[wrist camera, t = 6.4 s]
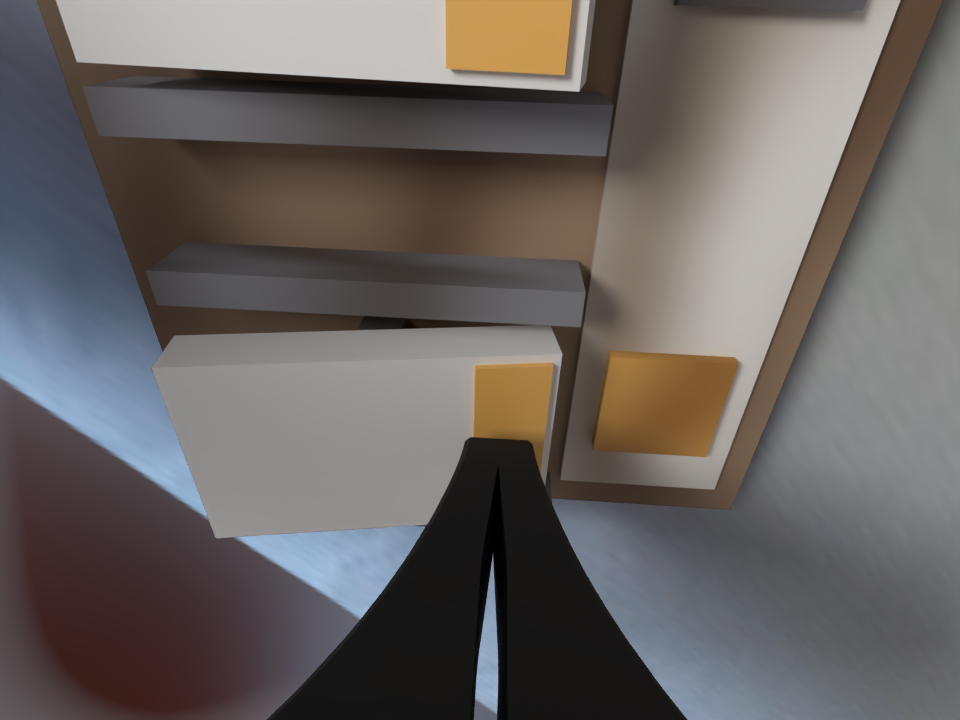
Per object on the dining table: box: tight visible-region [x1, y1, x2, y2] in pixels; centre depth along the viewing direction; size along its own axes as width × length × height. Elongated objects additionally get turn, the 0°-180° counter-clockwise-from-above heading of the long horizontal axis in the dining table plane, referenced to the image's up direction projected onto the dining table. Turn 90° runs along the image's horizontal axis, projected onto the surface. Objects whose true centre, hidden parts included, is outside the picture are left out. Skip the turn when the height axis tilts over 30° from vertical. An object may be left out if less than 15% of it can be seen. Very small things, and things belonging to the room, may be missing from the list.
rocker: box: [151, 325, 562, 538], centre depth 12 cm, size 8×5×1 cm, turn 89°
